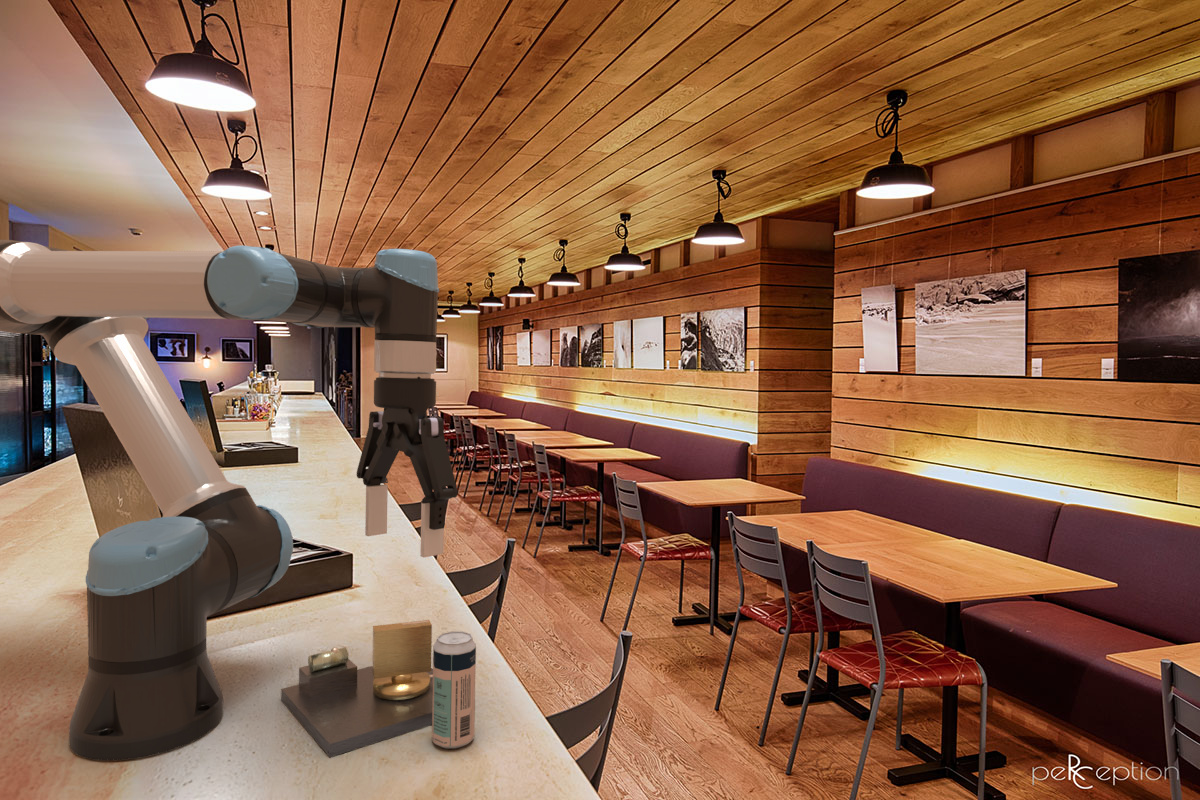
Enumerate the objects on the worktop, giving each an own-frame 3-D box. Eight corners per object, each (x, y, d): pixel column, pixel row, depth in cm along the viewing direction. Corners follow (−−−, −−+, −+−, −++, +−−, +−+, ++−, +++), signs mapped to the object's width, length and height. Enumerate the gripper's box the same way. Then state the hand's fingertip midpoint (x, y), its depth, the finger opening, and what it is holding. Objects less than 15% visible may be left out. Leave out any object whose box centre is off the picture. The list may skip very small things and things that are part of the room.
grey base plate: (329, 757, 79) (330, 701, 79) (281, 700, 92) (281, 651, 92) (474, 710, 91) (475, 661, 91) (413, 665, 104) (414, 622, 104)
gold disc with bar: (447, 692, 92) (448, 628, 92) (376, 703, 89) (376, 636, 88) (437, 671, 98) (437, 610, 98) (370, 680, 95) (371, 618, 95)
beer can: (477, 730, 86) (478, 630, 86) (471, 752, 81) (473, 645, 81) (435, 730, 86) (437, 629, 85) (427, 751, 81) (429, 645, 81)
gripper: (489, 379, 85) (485, 559, 86) (383, 373, 103) (380, 523, 104) (434, 379, 80) (430, 570, 81) (331, 372, 98) (329, 530, 99)
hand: (402, 544), depth 92 cm, fingers open, 13 cm apart
